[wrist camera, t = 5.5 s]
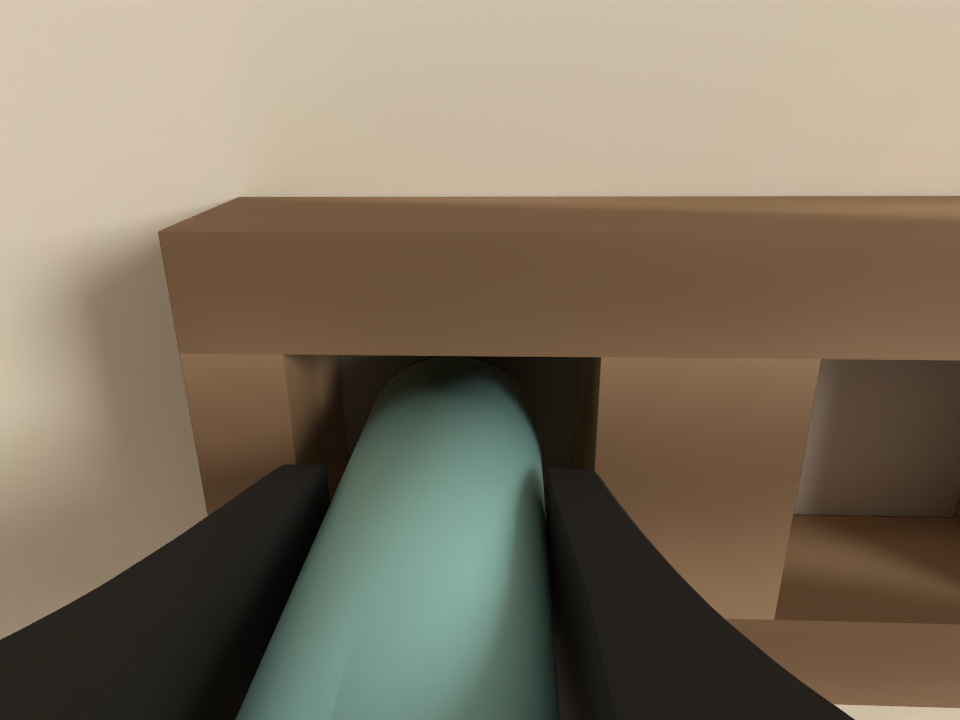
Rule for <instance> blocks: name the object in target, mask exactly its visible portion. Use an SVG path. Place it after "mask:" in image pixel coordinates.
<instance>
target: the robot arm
mask: <svg viewBox="0 0 960 720" xmlns="http://www.w3.org/2000/svg"><path fill="white" fill-rule="evenodd" d="M329 506H330V496H329V486H328V476H327V466H326V465H290V464H284V465H282V466H280V467H279V468H277V469H275V470H273V471H272V472H270V473H269V474H267V475H266V476H264V477H263V478H261V479H260V480H259V481H257V482H256V483H254V484H253V485H251V486H250V487H249V488H247V489H246V490H244V491H243V492H241V493H240V494H239V495H237V496H236V497H234V498H233V499H232V500H230V501H229V502H227V503H226V504H225V505H223V506H222V507H220V508H219V509H217V510H216V511H215V512H213V513H212V514H210V515H209V516H207V517H206V518H204V519H203V520H202V521H200V522H199V523H197V524H196V525H194V526H193V527H192V528H190V529H189V530H187V531H186V532H184V533H183V534H182V535H180V536H179V537H177V538H176V539H174V540H172V541H171V542H169V543H168V544H166V545H165V546H163V547H161V548H160V549H158V550H157V551H155V552H154V553H152V554H150V555H149V556H147V557H146V558H144V559H143V560H141V561H139V562H138V563H136V564H135V565H133V566H132V567H130V568H128V569H127V570H125V571H124V572H122V573H121V574H119V575H117V576H116V577H114V578H113V579H111V580H110V581H108V582H106V583H105V584H103V585H101V586H100V587H98V588H96V589H94V590H93V591H91V592H89V593H88V594H86V595H84V596H82V597H80V598H79V599H77V600H75V601H73V602H72V603H70V604H68V605H66V606H64V607H63V608H61V609H59V610H57V611H55V612H53V613H51V614H49V615H47V616H46V617H44V618H42V619H40V620H38V621H36V622H34V623H32V624H30V625H29V626H27V627H25V628H23V629H21V630H19V631H17V632H15V633H13V634H11V635H9V636H7V637H5V638H3V639H1V640H0V720H235V719H236V717H237V715H238V712H239V710H240V708H241V706H242V703H243V701H244V699H245V697H246V694H247V692H248V690H249V687H250V685H251V683H252V681H253V678H254V676H255V674H256V672H257V669H258V667H259V665H260V662H261V660H262V658H263V656H264V653H265V651H266V649H267V647H268V644H269V642H270V640H271V637H272V635H273V633H274V631H275V628H276V626H277V624H278V622H279V619H280V617H281V615H282V612H283V610H284V608H285V606H286V603H287V601H288V599H289V597H290V594H291V592H292V590H293V587H294V585H295V583H296V581H297V578H298V576H299V574H300V572H301V569H302V567H303V565H304V562H305V560H306V558H307V556H308V553H309V551H310V549H311V547H312V544H313V542H314V540H315V537H316V535H317V533H318V531H319V528H320V526H321V524H322V522H323V519H324V517H325V515H326V513H327V510H328V508H329ZM547 544H548V559H549V573H550V587H551V602H552V616H553V630H554V645H555V659H556V673H557V688H558V702H559V716H560V720H854V719H853V718H852V717H850V716H849V715H847V714H846V713H845V712H843V711H842V710H840V709H839V708H838V707H836V706H835V705H833V704H832V703H831V702H829V701H828V700H826V699H825V698H824V697H822V696H821V695H819V694H818V693H817V692H815V691H814V690H813V689H811V688H810V687H808V686H807V685H806V684H804V683H803V682H801V681H800V680H799V679H797V678H796V677H795V676H794V675H792V674H791V673H790V672H788V671H787V670H786V669H784V668H783V667H782V666H781V665H779V664H778V663H777V662H775V661H774V660H773V659H772V658H770V657H769V656H768V655H767V654H766V653H764V652H763V651H762V650H761V649H760V648H758V647H757V646H756V645H755V644H754V643H753V642H751V641H750V640H749V639H748V638H747V637H745V636H744V635H743V634H742V633H741V632H739V631H738V630H737V629H736V628H735V627H734V626H732V625H731V624H730V623H729V622H728V621H727V620H725V619H724V618H723V617H722V616H721V615H720V614H719V613H718V612H717V611H716V610H714V609H713V608H712V607H711V606H710V605H709V604H708V603H707V602H706V601H705V600H704V599H703V598H702V597H701V596H700V595H699V594H698V593H697V592H696V591H695V590H694V589H693V588H692V587H691V586H690V585H689V584H688V583H687V582H686V581H685V580H684V578H683V577H682V576H681V575H680V574H679V573H678V572H677V571H676V570H675V569H674V568H673V567H672V566H671V565H670V563H669V562H668V561H667V560H666V559H665V558H664V557H663V555H662V554H661V553H660V552H659V551H658V550H657V549H656V547H655V546H654V545H653V544H652V543H651V542H650V541H649V539H648V538H647V537H646V536H645V535H644V534H643V532H642V531H641V530H640V529H639V527H638V526H637V525H636V524H635V523H634V521H633V520H632V519H631V518H630V516H629V515H628V514H627V512H626V511H625V510H624V509H623V507H622V506H621V505H620V503H619V502H618V501H617V499H616V498H615V497H614V495H613V494H612V493H611V491H610V490H609V488H608V487H607V486H606V484H605V483H604V481H603V480H602V479H601V477H600V476H599V475H598V474H597V473H596V472H595V471H594V470H593V469H548V502H547Z"/></svg>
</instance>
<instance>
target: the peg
mask: <svg viewBox="0 0 960 720" xmlns="http://www.w3.org/2000/svg"><path fill="white" fill-rule="evenodd" d="M235 720H560V716H559V702H558V688H557V673H556V659H555V645H554V630H553V616H552V602H551V587H550V573H549V559H548V544H547V530H546V516H545V502H544V487H543V473H542V459H541V444H540V431H539V423H538V419H537V415H536V412H535V410H534V407H533V405H532V403H531V401H530V400H529V398H528V396H527V395H526V393H525V392H524V391H523V390H522V388H521V387H520V386H519V385H518V384H517V383H516V382H515V381H514V380H513V379H512V378H511V377H509V376H508V375H506V374H505V373H504V372H502V371H501V370H499V369H497V368H495V367H493V366H491V365H489V364H486V363H484V362H481V361H478V360H474V359H470V358H463V357H439V358H433V359H429V360H425V361H422V362H419V363H416V364H414V365H412V366H410V367H408V368H406V369H404V370H403V371H401V372H400V373H399V374H397V375H396V376H395V377H394V378H393V379H392V380H390V381H389V382H388V383H387V385H386V386H385V387H384V388H383V390H382V391H381V392H380V394H379V396H378V398H377V399H376V401H375V403H374V406H373V408H372V410H371V413H370V415H369V417H368V419H367V422H366V424H365V426H364V428H363V431H362V433H361V435H360V438H359V440H358V442H357V444H356V447H355V449H354V451H353V453H352V456H351V458H350V460H349V463H348V465H347V467H346V469H345V472H344V474H343V476H342V478H341V481H340V483H339V485H338V488H337V490H336V492H335V494H334V497H333V499H332V501H331V503H330V506H329V508H328V510H327V513H326V515H325V517H324V519H323V522H322V524H321V526H320V528H319V531H318V533H317V535H316V537H315V540H314V542H313V544H312V547H311V549H310V551H309V553H308V556H307V558H306V560H305V562H304V565H303V567H302V569H301V572H300V574H299V576H298V578H297V581H296V583H295V585H294V587H293V590H292V592H291V594H290V597H289V599H288V601H287V603H286V606H285V608H284V610H283V612H282V615H281V617H280V619H279V622H278V624H277V626H276V628H275V631H274V633H273V635H272V637H271V640H270V642H269V644H268V647H267V649H266V651H265V653H264V656H263V658H262V660H261V662H260V665H259V667H258V669H257V672H256V674H255V676H254V678H253V681H252V683H251V685H250V687H249V690H248V692H247V694H246V697H245V699H244V701H243V703H242V706H241V708H240V710H239V712H238V715H237V717H236V719H235Z"/></svg>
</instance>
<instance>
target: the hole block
mask: <svg viewBox="0 0 960 720" xmlns="http://www.w3.org/2000/svg"><path fill="white" fill-rule="evenodd" d="M158 234H159V239H160V245H161V251H162V257H163V262H164V268H165V274H166V279H167V285H168V291H169V296H170V302H171V308H172V314H173V319H174V325H175V331H176V336H177V342H178V348H179V354H180V359H181V365H182V371H183V376H184V382H185V388H186V393H187V399H188V405H189V411H190V416H191V422H192V428H193V433H194V439H195V445H196V450H197V456H198V462H199V468H200V473H201V479H202V485H203V490H204V496H205V502H206V508H207V513H208V516H209V515H210V514H212V513H213V512H215V511H216V510H217V509H219V508H220V507H222V506H223V505H225V504H226V503H227V502H229V501H230V500H232V499H233V498H234V497H236V496H237V495H239V494H240V493H241V492H243V491H244V490H246V489H247V488H249V487H250V486H251V485H253V484H254V483H256V482H257V481H259V480H260V479H261V478H263V477H264V476H266V475H267V474H269V473H270V472H272V471H273V470H275V469H277V468H279V467H280V466H282V465H284V464H290V465H326V466H327V476H328V486H329V496H330V503H331V501H332V499H333V497H334V494H335V492H336V490H337V488H338V485H339V483H340V481H341V478H342V476H343V474H344V472H345V469H346V467H347V465H348V460H347V449H346V437H345V426H344V414H343V403H342V392H341V380H340V369H339V357H338V355H403V356H516V357H580V358H579V380H578V402H577V423H576V445H575V466H574V469H593V470H594V471H595V472H596V473H597V474H598V475H599V476H600V477H601V479H602V480H603V481H604V483H605V484H606V486H607V487H608V488H609V490H610V491H611V493H612V494H613V495H614V497H615V498H616V499H617V501H618V502H619V503H620V505H621V506H622V507H623V509H624V510H625V511H626V512H627V514H628V515H629V516H630V518H631V519H632V520H633V521H634V523H635V524H636V525H637V526H638V527H639V529H640V530H641V531H642V532H643V534H644V535H645V536H646V537H647V538H648V539H649V541H650V542H651V543H652V544H653V545H654V546H655V547H656V549H657V550H658V551H659V552H660V553H661V554H662V555H663V557H664V558H665V559H666V560H667V561H668V562H669V563H670V565H671V566H672V567H673V568H674V569H675V570H676V571H677V572H678V573H679V574H680V575H681V576H682V577H683V578H684V580H685V581H686V582H687V583H688V584H689V585H690V586H691V587H692V588H693V589H694V590H695V591H696V592H697V593H698V594H699V595H700V596H701V597H702V598H703V599H704V600H705V601H706V602H707V603H708V604H709V605H710V606H711V607H712V608H713V609H714V610H716V611H717V612H718V613H719V614H720V615H721V616H722V617H723V618H724V619H725V620H727V621H728V622H729V623H730V624H731V625H732V626H734V627H735V628H736V629H737V630H738V631H739V632H741V633H742V634H743V635H744V636H745V637H747V638H748V639H749V640H750V641H751V642H753V643H754V644H755V645H756V646H757V647H758V648H760V649H761V650H762V651H763V652H764V653H766V654H767V655H768V656H769V657H770V658H772V659H773V660H774V661H775V662H777V663H778V664H779V665H781V666H782V667H783V668H784V669H786V670H787V671H788V672H790V673H791V674H792V675H794V676H795V677H796V678H797V679H799V680H800V681H801V682H803V683H804V684H806V685H807V686H808V687H810V688H811V689H813V690H814V691H815V692H817V693H818V694H819V695H821V696H822V697H824V698H825V699H826V700H828V701H829V702H831V703H832V704H844V705H877V706H910V707H943V708H960V502H959V505H958V509H957V512H956V516H955V518H925V517H871V516H817V515H793V513H794V507H795V501H796V496H797V490H798V485H799V479H800V474H801V468H802V463H803V457H804V452H805V446H806V441H807V435H808V430H809V424H810V418H811V413H812V407H813V402H814V396H815V391H816V385H817V380H818V374H819V369H820V363H821V359H856V360H960V196H790V197H238V198H236V199H234V200H231V201H229V202H227V203H224V204H222V205H220V206H217V207H215V208H213V209H210V210H208V211H206V212H203V213H201V214H199V215H196V216H194V217H191V218H189V219H187V220H184V221H182V222H180V223H177V224H175V225H173V226H170V227H168V228H166V229H163V230H161V231H159V232H158ZM545 516H546V530H547V510H545Z"/></svg>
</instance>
